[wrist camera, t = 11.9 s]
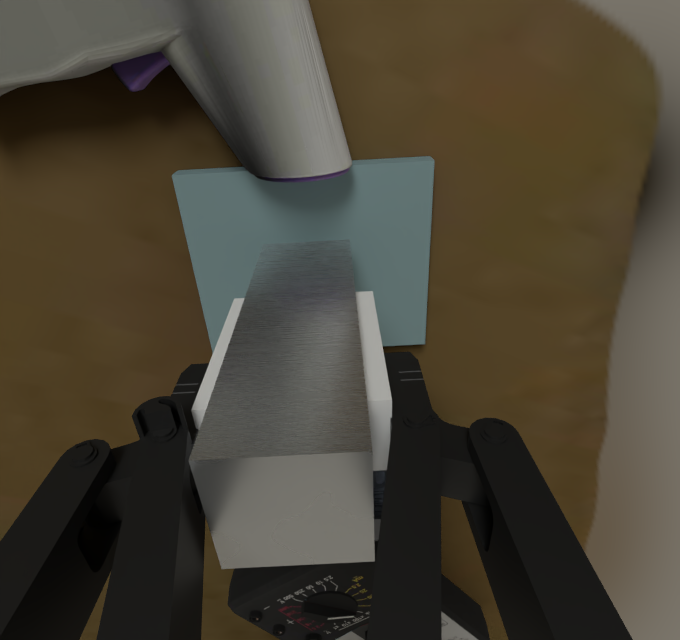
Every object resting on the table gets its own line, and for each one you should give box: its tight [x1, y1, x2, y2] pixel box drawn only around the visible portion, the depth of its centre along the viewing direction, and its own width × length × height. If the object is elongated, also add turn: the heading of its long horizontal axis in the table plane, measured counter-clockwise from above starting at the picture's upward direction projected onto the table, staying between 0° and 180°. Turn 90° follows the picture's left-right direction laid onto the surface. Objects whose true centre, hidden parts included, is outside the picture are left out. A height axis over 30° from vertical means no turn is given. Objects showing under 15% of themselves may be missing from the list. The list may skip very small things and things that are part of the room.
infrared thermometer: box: [0, 0, 352, 183], centre depth 19 cm, size 5×12×15 cm
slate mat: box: [172, 156, 434, 352], centre depth 24 cm, size 12×10×1 cm
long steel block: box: [189, 239, 375, 569], centre depth 17 cm, size 4×4×13 cm
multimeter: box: [228, 541, 490, 640], centre depth 38 cm, size 13×19×5 cm
